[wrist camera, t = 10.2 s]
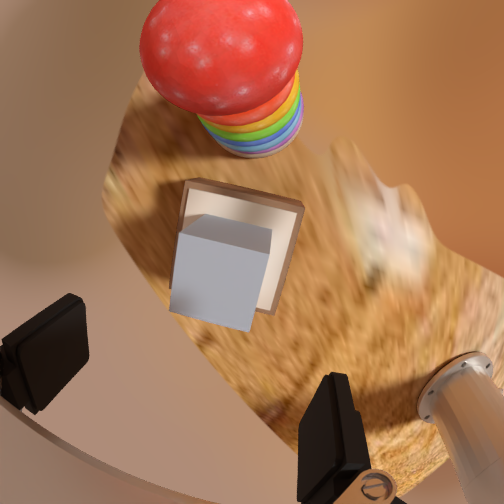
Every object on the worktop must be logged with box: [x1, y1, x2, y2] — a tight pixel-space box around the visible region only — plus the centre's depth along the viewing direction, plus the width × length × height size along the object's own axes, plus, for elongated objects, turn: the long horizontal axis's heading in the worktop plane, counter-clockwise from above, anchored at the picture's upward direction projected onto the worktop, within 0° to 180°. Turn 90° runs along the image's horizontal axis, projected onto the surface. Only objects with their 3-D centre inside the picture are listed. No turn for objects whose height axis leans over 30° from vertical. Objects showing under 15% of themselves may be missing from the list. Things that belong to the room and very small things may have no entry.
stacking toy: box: [139, 0, 304, 158], centre depth 14 cm, size 8×8×19 cm
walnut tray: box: [169, 178, 305, 316], centre depth 24 cm, size 9×9×4 cm
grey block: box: [169, 214, 272, 332], centre depth 19 cm, size 5×5×6 cm
